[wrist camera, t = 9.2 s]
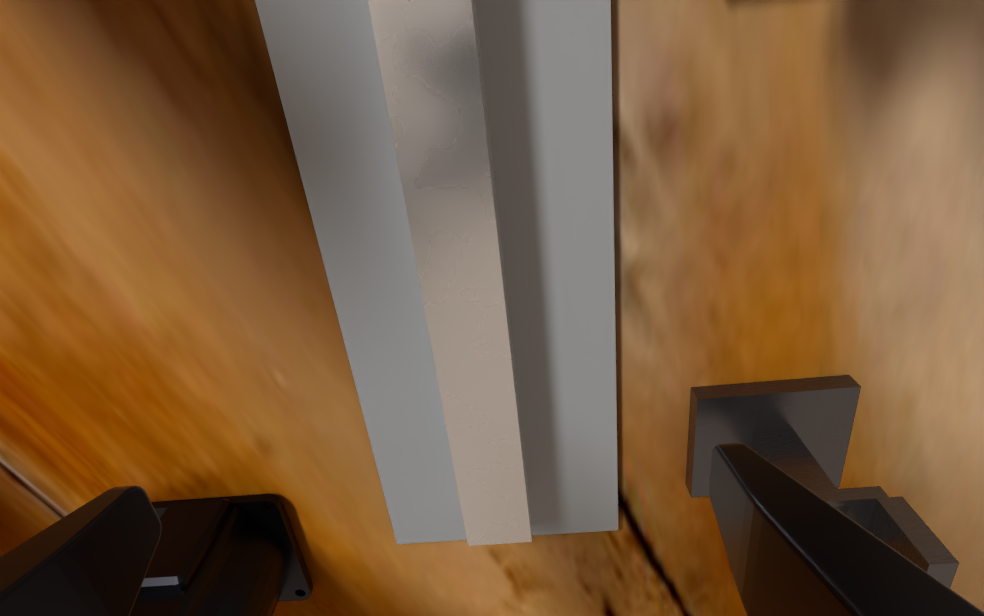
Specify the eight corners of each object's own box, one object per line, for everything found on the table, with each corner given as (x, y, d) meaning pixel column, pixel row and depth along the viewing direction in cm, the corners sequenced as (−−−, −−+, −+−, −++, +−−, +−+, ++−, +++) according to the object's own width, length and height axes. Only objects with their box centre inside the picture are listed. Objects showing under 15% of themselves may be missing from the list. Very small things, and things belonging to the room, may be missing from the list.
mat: (616, 521, 25) (618, 530, 25) (398, 535, 26) (397, 544, 25) (601, -355, 13) (605, -368, 12) (188, -285, 14) (177, -296, 13)
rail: (529, 494, 24) (531, 541, 22) (471, 497, 24) (467, 545, 22) (453, -199, 14) (443, -244, 12) (354, -184, 14) (326, -226, 12)
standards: (829, 473, 24) (952, 640, 17) (685, 483, 24) (752, 649, 18) (986, -299, 13) (1455, -623, 7) (727, -259, 14) (933, -529, 7)
